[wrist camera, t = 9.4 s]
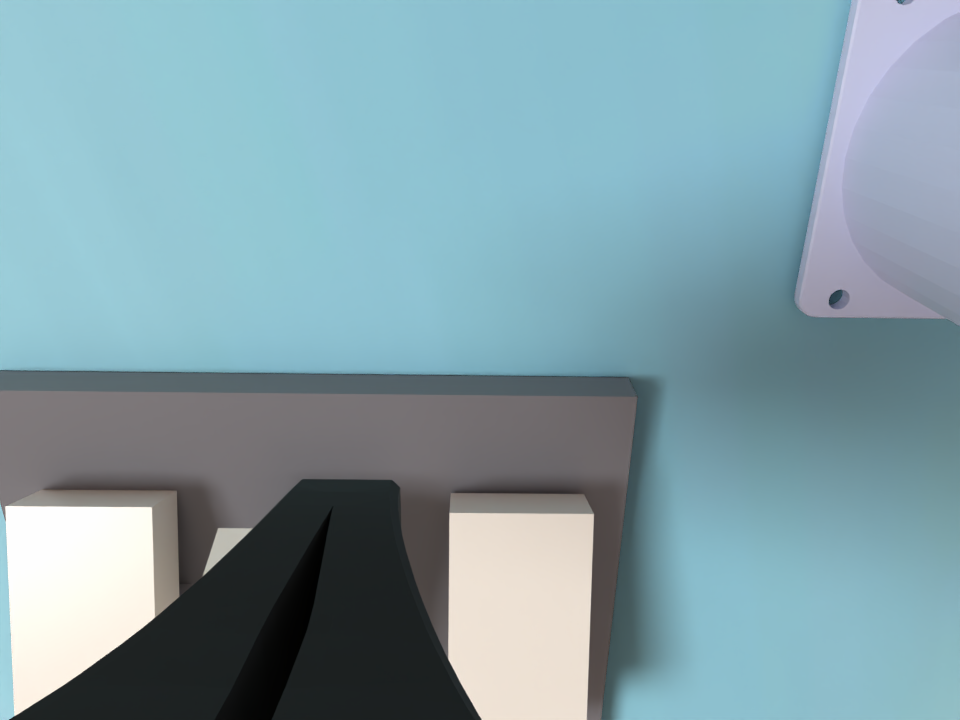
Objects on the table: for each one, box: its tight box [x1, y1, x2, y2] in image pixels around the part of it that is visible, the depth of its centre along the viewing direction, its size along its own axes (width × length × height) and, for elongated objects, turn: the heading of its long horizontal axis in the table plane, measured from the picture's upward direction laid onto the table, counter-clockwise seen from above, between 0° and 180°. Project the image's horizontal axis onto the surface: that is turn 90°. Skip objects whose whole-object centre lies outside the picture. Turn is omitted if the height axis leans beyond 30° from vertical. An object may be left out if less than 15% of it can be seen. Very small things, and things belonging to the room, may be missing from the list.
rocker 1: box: [5, 490, 179, 716], centre depth 20 cm, size 4×8×2 cm, turn 179°
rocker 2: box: [448, 493, 594, 720], centre depth 20 cm, size 4×8×2 cm, turn 179°
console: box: [0, 371, 638, 720], centre depth 22 cm, size 17×13×2 cm
